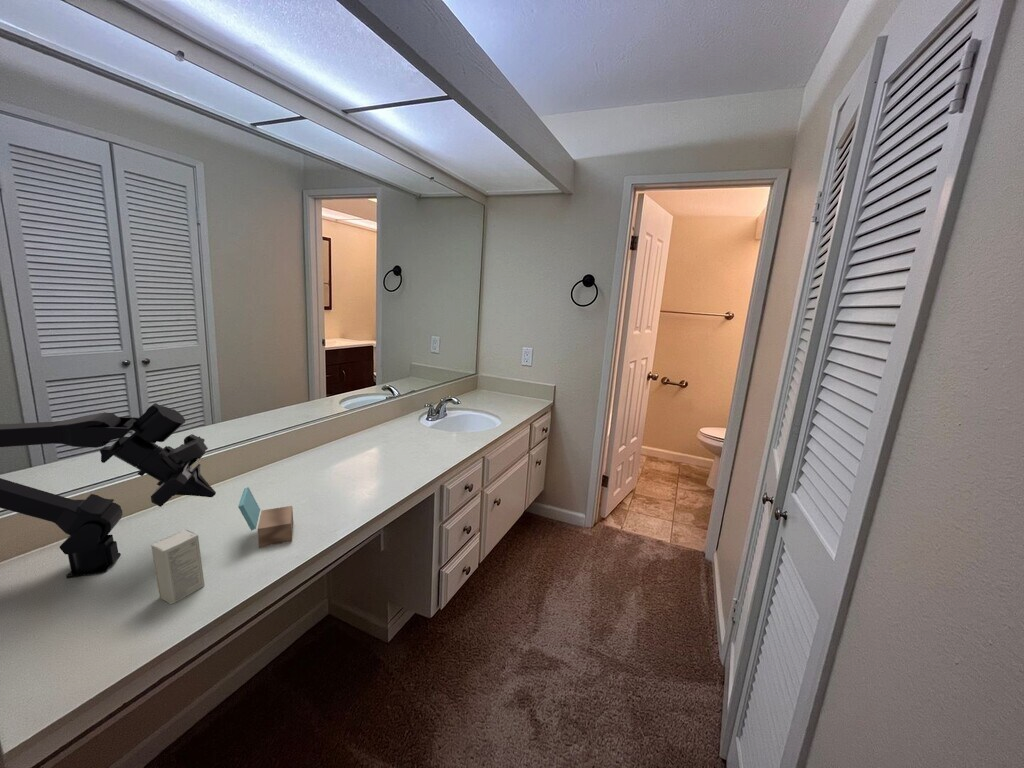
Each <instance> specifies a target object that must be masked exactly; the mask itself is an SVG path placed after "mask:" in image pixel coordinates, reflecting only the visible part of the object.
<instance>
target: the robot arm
mask: <svg viewBox="0 0 1024 768" xmlns="http://www.w3.org/2000/svg"><path fill="white" fill-rule="evenodd" d="M185 423H186V418H185V417H184V416H183V415H182V414H181V413H180V412H179V411H178V410H176V409H173V408H170V407H168V406H164V405H160V404H159V403H157V402H154V403H153V404H151V405H150V406H149V407H148V408H147V409H146V410H145V412H144V413H143V414H141V416H140V417H134V416H118V415H116V414H115V413H112V412H106V411H105V412H98V413H93V414H92V413H91V414H88V415H83V416H78V417H75V418H69V419H65V420H58V421H43V422H42V421H40V422H22V423H21V422H20V423H18V422H17V423H2V424H1V423H0V448H8V447H11V448H12V447H23V446H24V447H25V446H35V445H36V446H37V445H38V446H39V445H52V444H55V445H65V446H69V447H72V448H91V449H92V448H94V449H97V448H101V447H102V448H101V449H100V450H99V453H100V462H101V464H102V463H103V464H105V463H106V462H107V461H108V460H110V459H111V458H112V457H115V458H117V459H119V460H121V461H123V462H124V463H126V464H128V465H130V466H131V467H133V468H135V469H137V470H138V472H137V475H138V476H141V477H143V476H144V475H148V476H149V477H151V478H153V479H155V480H156V481H158V482H157V483H156V485H157V486H158V487H157V488H156V489H155V490H154V491H153V493H152V495H150V501H151V503H152V504H154V505H155V506H158V507H161V508H162V506H164V505H165V504H166V503H167V502H168V501H169V500H170V499H171V498H172V497H174V496H193V497H201V498H202V497H203V498H214V496H216V493H217V492H216V491H215V489H214V488H213V487H212V486H211V484H209V483H208V481H207V480H206V479H205V477H204V476H203V475H202V474H201V463H198V464H197V465H196V466H195V467H194V466H193V464H195V463H196V462H197V461H198V460H201V459H202V458H203V456H204V455H205V454H206V451H207V450H209V447H208V446H207V445H206V444H205V441H206V440H205V438H203V437H201V436H198V435H195V434H193V433H192V434H190V435H187V436H186V437H184V439H183V444H182V443H181V444H180V446H177V447H175V448H174V447H172V446H167V445H165V446H164V447H161V446H160V445H159V444H156V443H158V442H159V443H163V442H165V441H166V440H168V439H169V438H170V437H171V436H172V435H173V434H174V433H175V432H176V431H177V430H179V428H180V427H182V426H183V425H184V424H185ZM131 431H133V433H132V434H131V435H130V436H126V435H127V434H129V433H130V432H131ZM114 440H116V441H115V442H113V444H111V445H107V444H109V443H110V442H111V441H114ZM0 509H3V510H6V511H10V512H13V513H17V514H20V515H24V516H28V517H32V518H35V519H39V520H43V521H46V522H51V523H53V524H55V525H56V526H57V527H58V528H59V529H60V530H61V531H63V532H64V534H66V535H69V536H67V538H66V539H65V540H64V541H63V542H62V543H61V544H60V546H58V547H59V549H60V550H61V551H62V552H63V554H64V555H67V557H68V563H69V567H70V568H69V569H70V570H69V572H68V573H67V574H66V575H65V578H67V579H70V578H77V577H83V576H91V575H97V574H102V573H106V572H108V570H109V569H110V568H111V567H112V566H113V565H114V564H115V562H116V561H117V560H118V559H119V557H121V552H119V549H118V544H117V541H116V540H115V539H114V535H113V534H111V533H110V532H111V531H112V530H113V529H114V528H115V527H116V525H117V524H118V523H119V522H120V521H121V519H122V517H123V510H122V506H121V505H119V504H118V503H116V502H115V499H113V498H104V497H102V496H100V495H98V494H94V493H90V494H89V495H88V496H87V497H86V498H85V499H71V498H68V497H65V496H62V495H58V494H55V493H52V492H49V491H45V490H41V489H38V488H36V487H35V488H34V487H33V486H32V487H31V486H27V485H25V484H23V483H22V484H21V483H17V482H14V481H12V480H9V479H8V480H7V479H4V478H2V477H0Z"/></svg>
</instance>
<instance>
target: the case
mask: <svg viewBox="0 0 1024 768" xmlns="http://www.w3.org/2000/svg"><path fill="white" fill-rule="evenodd" d="M293 509H294V508H293V505H289V506H282V507H276V508H269V509H262V510H260V514H259V519H258V524H257V541H258V548H264V547H269V546H273V545H275V546H276V545H279V544H280V545H281V544H285V543H290V542H293V533H294V532H293V531H294V511H293Z"/></svg>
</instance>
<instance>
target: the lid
mask: <svg viewBox="0 0 1024 768" xmlns="http://www.w3.org/2000/svg"><path fill="white" fill-rule="evenodd" d="M237 508H238V509H239V511H240V513H241V515H242V516H243V519H244V520H245V522H246V524H247V525H248V527H249V529H250V531H251V532H252V531H254V530H257V527H258V523H259V519H260V514H261V508H260V506H259V504H258V502H257V501H256V499H255V496H254V495H253V493H252V490H251V489H250V488H249V486H248V487H244V488H243V491H242V493H241V496H240V500H239V503H238V507H237Z"/></svg>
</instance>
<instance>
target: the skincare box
mask: <svg viewBox="0 0 1024 768" xmlns="http://www.w3.org/2000/svg"><path fill="white" fill-rule="evenodd" d="M150 546H151V551H152V552H151V554H152V558H153V565H154V570H155V576H156V583H157V589H158V594H159V598H160V599H162V600H163V601H166V602H167V603H168V604H170V605H173V604H175V603H177V602H179V601H180V600H182V599H184V598H185V597H187V596H189V595H191V594H192V593H194V592H196V591H198V590H199V589H201V588H202V587H204V586H205V578H204V571H203V564H202V554H201V549H200V540H199V535H198V534H196V533H195V532H193V531H191V530H189V529H187V528H184V529H183V530H182V529H181V530H180V531H177V532H176V533H174V534H172V535H169V536H167V537H165V538H163V539H160V540H159V541H156V542H154V543H152V544H151V545H150Z"/></svg>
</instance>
